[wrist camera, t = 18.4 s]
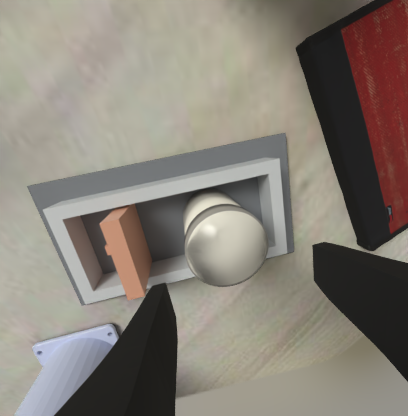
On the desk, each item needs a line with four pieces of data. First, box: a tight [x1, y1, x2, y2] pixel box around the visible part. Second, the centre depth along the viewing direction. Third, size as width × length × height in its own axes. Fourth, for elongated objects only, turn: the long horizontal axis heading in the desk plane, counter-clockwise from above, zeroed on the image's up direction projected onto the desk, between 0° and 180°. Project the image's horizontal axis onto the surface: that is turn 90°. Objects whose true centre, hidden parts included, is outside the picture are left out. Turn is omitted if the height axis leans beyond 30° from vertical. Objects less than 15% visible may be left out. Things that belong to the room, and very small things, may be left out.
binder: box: [296, 0, 408, 251], centre depth 19 cm, size 16×2×21 cm
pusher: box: [100, 203, 152, 300], centre depth 16 cm, size 6×3×5 cm, turn 11°
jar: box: [183, 189, 269, 287], centre depth 16 cm, size 5×5×7 cm
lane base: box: [27, 133, 294, 305], centre depth 18 cm, size 12×22×3 cm, turn 101°
